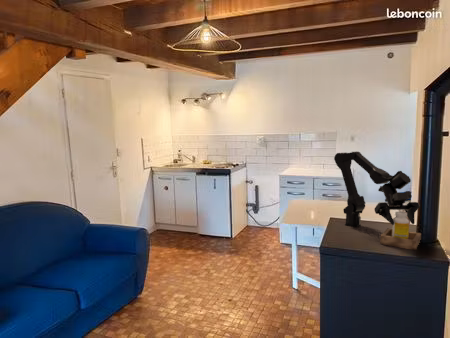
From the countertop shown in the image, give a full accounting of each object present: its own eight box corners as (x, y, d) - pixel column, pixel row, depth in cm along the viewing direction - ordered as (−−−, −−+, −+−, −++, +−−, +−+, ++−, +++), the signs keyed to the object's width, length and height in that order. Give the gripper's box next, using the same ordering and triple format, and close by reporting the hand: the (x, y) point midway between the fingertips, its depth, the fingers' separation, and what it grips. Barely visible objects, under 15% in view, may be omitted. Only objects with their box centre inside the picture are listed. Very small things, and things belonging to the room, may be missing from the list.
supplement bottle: (411, 243, 153) (412, 214, 152) (395, 243, 153) (397, 214, 152) (403, 238, 160) (405, 211, 158) (389, 238, 160) (390, 210, 158)
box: (380, 243, 155) (380, 235, 155) (387, 236, 166) (387, 228, 166) (415, 250, 147) (416, 241, 146) (420, 241, 158) (421, 233, 158)
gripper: (378, 184, 157) (390, 215, 147) (418, 184, 158) (433, 214, 148) (369, 198, 165) (380, 228, 156) (407, 198, 167) (420, 227, 157)
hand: (403, 224), depth 154 cm, fingers open, 9 cm apart
